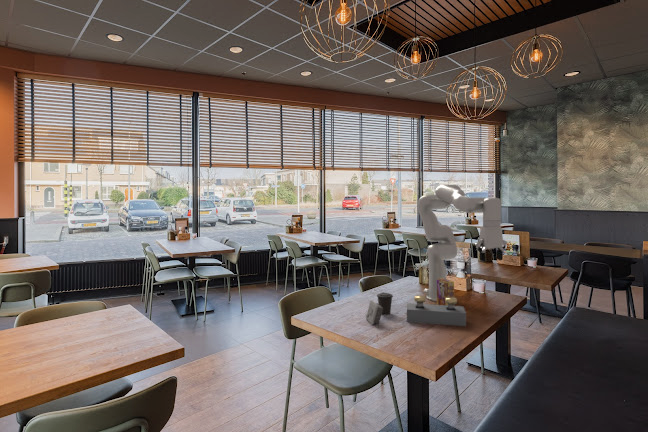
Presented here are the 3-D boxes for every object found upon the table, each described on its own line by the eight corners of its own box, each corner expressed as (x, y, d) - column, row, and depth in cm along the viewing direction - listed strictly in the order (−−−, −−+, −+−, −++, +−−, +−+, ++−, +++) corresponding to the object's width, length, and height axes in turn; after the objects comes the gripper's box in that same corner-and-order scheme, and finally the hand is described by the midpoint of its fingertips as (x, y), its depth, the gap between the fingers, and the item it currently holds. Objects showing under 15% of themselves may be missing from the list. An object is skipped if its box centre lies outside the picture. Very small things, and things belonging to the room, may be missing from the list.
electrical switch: (365, 318, 173) (367, 299, 173) (375, 318, 174) (377, 300, 174) (371, 325, 164) (373, 305, 164) (382, 325, 165) (384, 305, 165)
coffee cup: (383, 309, 187) (383, 290, 186) (396, 313, 181) (396, 293, 180) (373, 313, 181) (373, 293, 180) (386, 317, 175) (386, 296, 175)
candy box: (454, 311, 183) (454, 281, 182) (447, 312, 181) (447, 282, 181) (442, 306, 191) (443, 277, 190) (436, 307, 190) (436, 278, 189)
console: (406, 322, 168) (406, 309, 167) (407, 315, 177) (407, 303, 177) (466, 326, 161) (466, 313, 161) (463, 318, 171) (463, 306, 171)
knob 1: (414, 311, 169) (414, 297, 169) (414, 308, 174) (414, 294, 174) (425, 312, 168) (425, 298, 167) (425, 308, 173) (425, 295, 172)
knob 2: (445, 313, 166) (445, 299, 165) (444, 310, 170) (444, 296, 170) (457, 314, 164) (457, 300, 164) (455, 310, 169) (456, 297, 169)
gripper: (500, 223, 175) (500, 257, 176) (470, 224, 170) (470, 259, 171) (512, 224, 167) (512, 260, 168) (481, 225, 163) (481, 262, 164)
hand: (490, 260), depth 170 cm, fingers open, 9 cm apart
